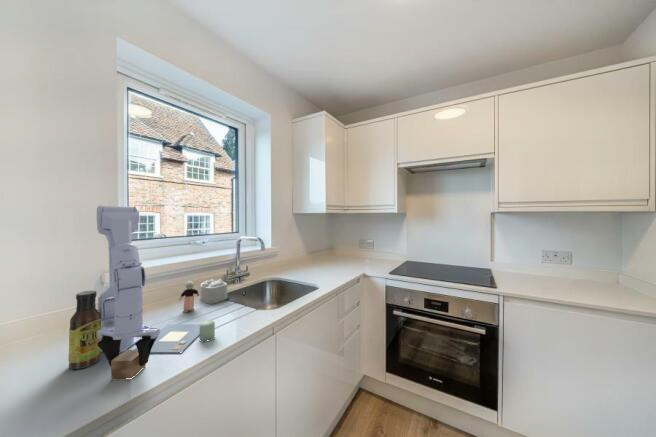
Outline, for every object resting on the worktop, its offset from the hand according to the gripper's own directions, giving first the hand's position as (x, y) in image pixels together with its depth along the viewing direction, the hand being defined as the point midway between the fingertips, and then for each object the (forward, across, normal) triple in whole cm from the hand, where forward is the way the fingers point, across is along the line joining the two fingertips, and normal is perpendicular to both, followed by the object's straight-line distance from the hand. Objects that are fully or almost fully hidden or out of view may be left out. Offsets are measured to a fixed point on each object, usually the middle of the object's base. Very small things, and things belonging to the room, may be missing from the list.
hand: (129, 363), depth 64 cm
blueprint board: (+2, +1, +18) cm, 18 cm away
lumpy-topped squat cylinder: (+3, -3, +56) cm, 56 cm away
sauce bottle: (+3, -15, +4) cm, 16 cm away
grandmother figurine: (+3, -6, +41) cm, 42 cm away
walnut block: (+3, 0, 0) cm, 3 cm away
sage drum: (+3, +12, +18) cm, 22 cm away
